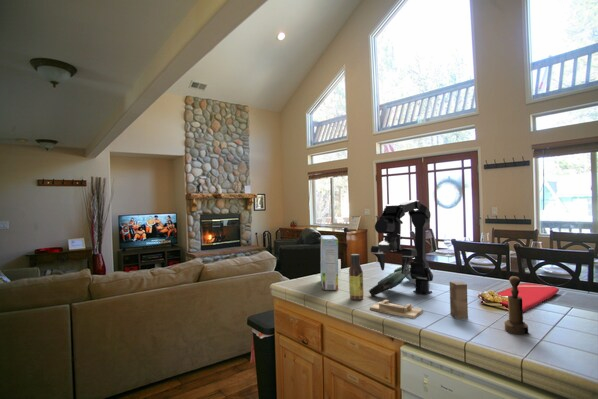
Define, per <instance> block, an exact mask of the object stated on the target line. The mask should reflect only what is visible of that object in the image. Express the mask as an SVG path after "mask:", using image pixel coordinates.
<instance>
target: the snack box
mask: <svg viewBox="0 0 598 399" xmlns="http://www.w3.org/2000/svg"><path fill="white" fill-rule="evenodd" d="M320 283H321V287H322V290H323V291H338V290H339V239H338V238H337V237H336V236H335V235H332V234H331V235H329V234H327V235H323V234H322V235H320Z"/></svg>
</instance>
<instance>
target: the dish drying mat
mask: <svg viewBox="0 0 598 399" xmlns="http://www.w3.org/2000/svg"><path fill="white" fill-rule="evenodd" d="M517 288H518V290H519V293H518V296H519V297H522V309H523V311H524V312H526V311H528V310H530V309H532V308H534V307H536V306H537V304H538V303H540V302H541V303H542V301H543V302H544V300H545V301H547V300H549V299H550V298H552V297H553V296H555V295H556V294H557V293H559V291H560V288H558V287H555V286H552V285H551V286H550V285H544V284H539V283H532V282H531V283H529V282H526V283H525V282H524V283H519V285H518V287H517ZM511 289H512V286H511V287H509V288H506V289H504V290H502V291H499V292H496V293H495V294H498V295H501V296H512V293H511ZM546 299H547V300H546ZM481 303H483V300H480V304H481ZM541 303H540V304H541ZM500 304H502V306H505V307H506V308H508V301H507V302H506V301H502V302H500ZM535 305H536V306H535ZM538 305H539V304H538ZM533 306H534V307H533ZM531 307H532V308H531ZM529 308H530V309H529ZM508 309H509V308H508ZM527 309H528V310H527ZM525 310H526V311H525Z"/></svg>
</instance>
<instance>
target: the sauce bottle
mask: <svg viewBox="0 0 598 399" xmlns="http://www.w3.org/2000/svg"><path fill="white" fill-rule="evenodd" d="M360 255H361V254H360V253H359V254H358V253H352V254H350V262H351V263H350V266H349V269H348V274H349V275H348V286H349V288H348V289H349V298H350V299H351V300H354V301H360V300H363V299H364V296H365V295H364V272H363V269H362V266H361V264H360V263H361V262H360Z"/></svg>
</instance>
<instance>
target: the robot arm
mask: <svg viewBox="0 0 598 399" xmlns="http://www.w3.org/2000/svg"><path fill="white" fill-rule="evenodd" d="M406 213H408V216H409V217H410V220H411V223H412V224H413V227H414V248H409V247H407V248H403V247H402V246H401V240H403V237H402V236H401V230H402V226H401V225H402V224H404V222H403V221H402V220H401V219H402V218H403V217H404V216H405V215H406ZM430 220H431V212H430V210H429V208H428V207H427V206H426V205H424V204H422V203H421V201H420V200H418V199H413V200H412V199H411V200H407V201H405V202H402V203H399V204H386V205H385V206H384V209H383V211H382V213H381V215H380V216H379V219H378V220H377V221H376V222H375V224H374V229H375V231H376V232H377V233H378V234H383V235H384V234H385V236H384V240H382V241H380V242H379V243H378V245H371V247H370V253H373V255H374V256H375V257H376V259H377V261H378V264H379V265H380V269H381V271H385V264H386V253H390V254H401V255H402V256H400V258H401V266H402V273H404V272H405V270H406V268H407V265H411V267H412V268H411V269H410V273H411V278H412V279H416V280H415V282H416V283H414V284H415V288H414V289H415V290H412V293H416V294H420V295H428V294H432V293H433V291H432V290H430V282H432V281H433V280H434V274H433V272H432V271H431V268H430V263H429V262H428V260H427V258H426V254H427V252H426V250H427V248H426V245H427V244H426V239H427V238H426V237H427V230H426V229H427V226H428V225H429V224H430ZM412 259H413V260H412ZM409 263H410V264H409ZM429 268H430V269H429Z"/></svg>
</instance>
